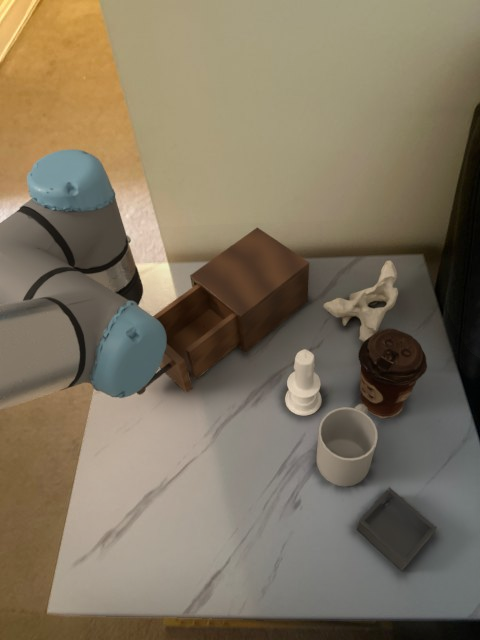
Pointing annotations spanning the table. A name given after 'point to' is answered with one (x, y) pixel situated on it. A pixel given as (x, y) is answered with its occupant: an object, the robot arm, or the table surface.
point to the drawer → (195, 336)
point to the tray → (395, 528)
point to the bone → (368, 296)
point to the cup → (346, 445)
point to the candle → (303, 386)
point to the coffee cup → (389, 370)
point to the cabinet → (256, 284)
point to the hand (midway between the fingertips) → (146, 380)
